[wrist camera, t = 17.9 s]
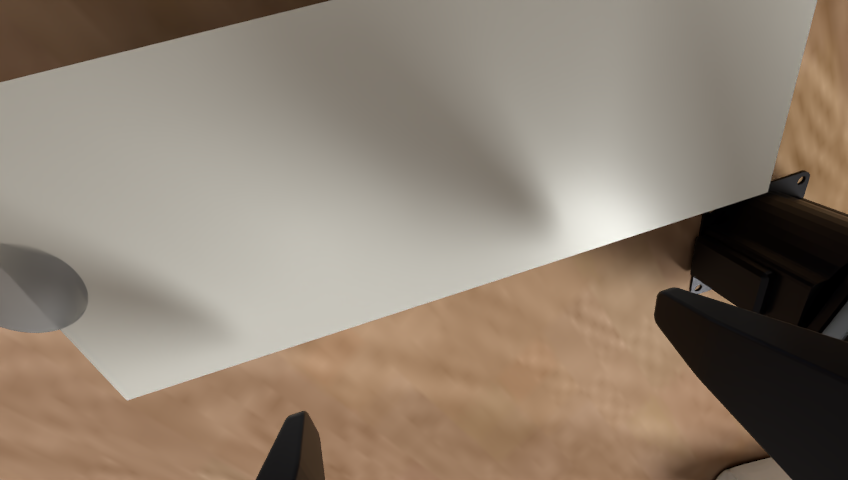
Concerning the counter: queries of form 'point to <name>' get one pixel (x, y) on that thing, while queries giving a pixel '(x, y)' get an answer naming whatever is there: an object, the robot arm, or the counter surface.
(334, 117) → the duct lid
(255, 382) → the counter surface
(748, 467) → the photo printer
